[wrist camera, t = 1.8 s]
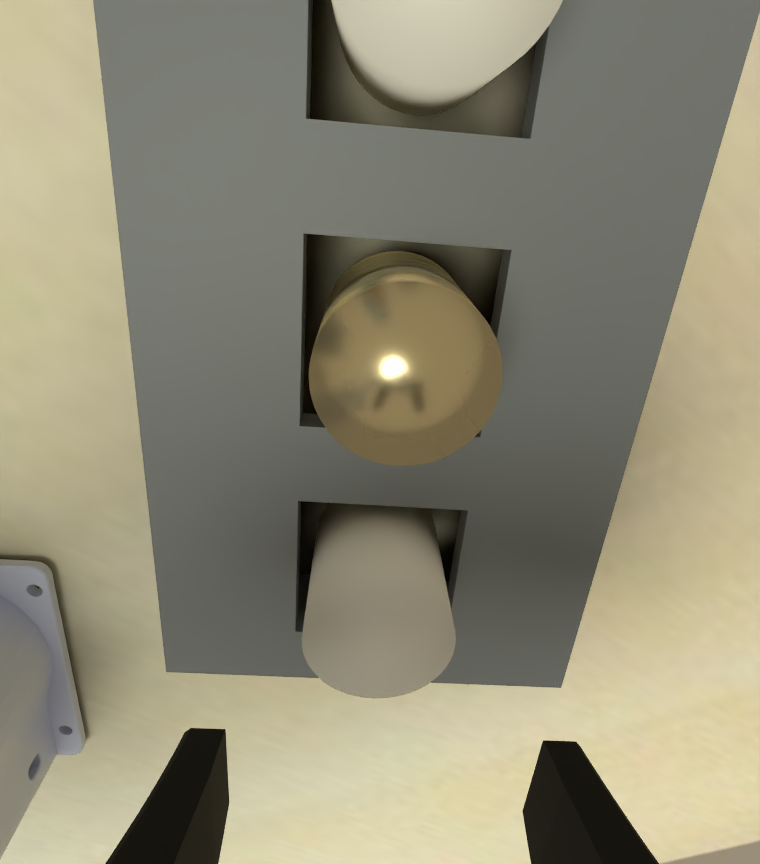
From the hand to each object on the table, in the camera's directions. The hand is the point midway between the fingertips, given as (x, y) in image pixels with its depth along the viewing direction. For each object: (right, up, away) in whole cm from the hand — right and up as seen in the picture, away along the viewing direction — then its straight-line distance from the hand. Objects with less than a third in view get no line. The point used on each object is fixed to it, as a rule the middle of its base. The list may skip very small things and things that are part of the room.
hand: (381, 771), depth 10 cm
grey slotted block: (0, +10, +6) cm, 11 cm away
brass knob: (0, +9, +4) cm, 10 cm away
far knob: (0, +3, +7) cm, 7 cm away
